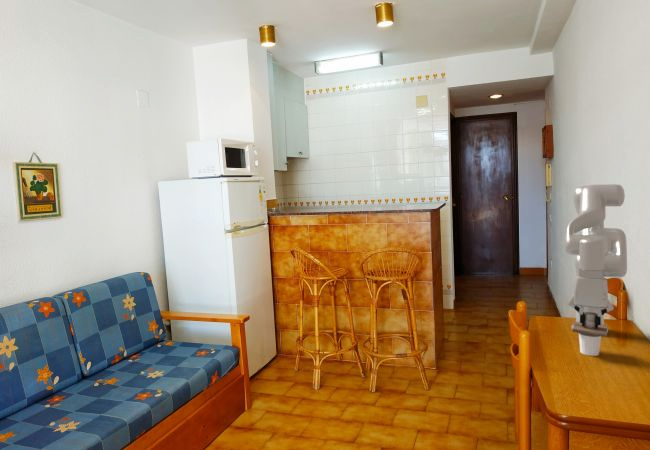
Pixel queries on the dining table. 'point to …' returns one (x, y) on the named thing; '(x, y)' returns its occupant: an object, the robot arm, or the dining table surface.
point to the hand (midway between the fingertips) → (590, 325)
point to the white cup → (589, 344)
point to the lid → (590, 325)
